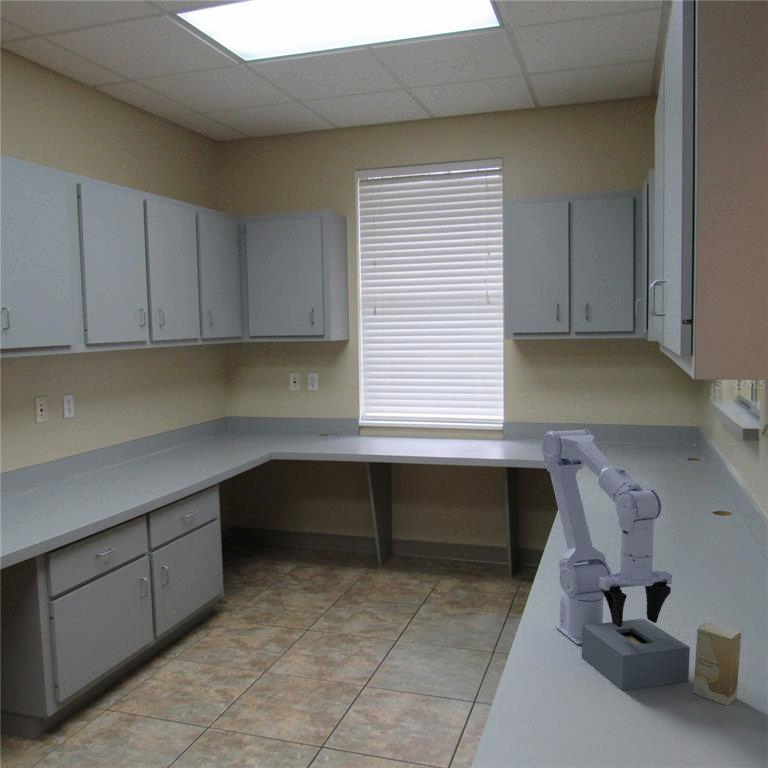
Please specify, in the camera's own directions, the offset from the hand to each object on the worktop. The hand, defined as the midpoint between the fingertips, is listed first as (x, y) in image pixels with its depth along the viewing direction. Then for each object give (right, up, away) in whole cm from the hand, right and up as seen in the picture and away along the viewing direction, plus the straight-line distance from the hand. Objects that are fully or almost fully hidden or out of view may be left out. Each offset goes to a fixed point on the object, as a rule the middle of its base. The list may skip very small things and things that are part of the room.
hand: (634, 622), depth 141 cm
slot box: (0, -9, +1) cm, 9 cm away
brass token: (0, -9, +1) cm, 9 cm away
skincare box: (+11, -10, -10) cm, 18 cm away
